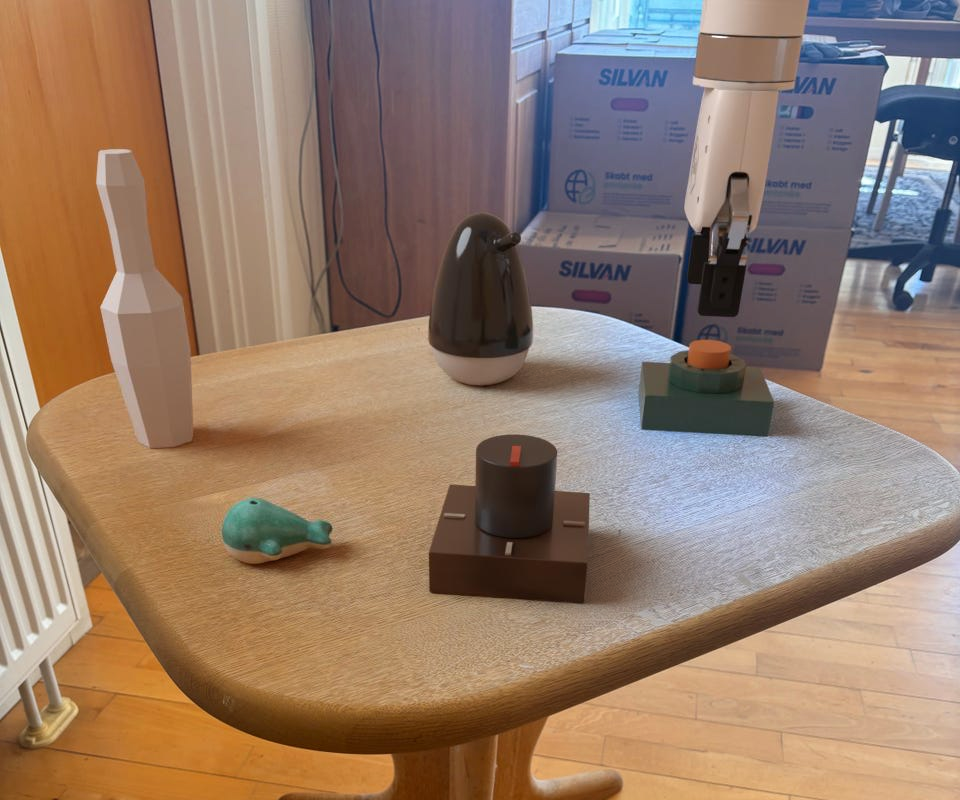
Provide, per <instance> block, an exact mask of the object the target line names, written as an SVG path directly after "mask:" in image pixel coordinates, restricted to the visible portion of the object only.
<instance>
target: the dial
mask: <svg viewBox="0 0 960 800" xmlns="http://www.w3.org/2000/svg"><path fill="white" fill-rule="evenodd" d="M557 465H558V450H557V447H556V446H555V445H554V444H553V443H552V442H550V441H549V440H546V439H544V438H541V437H538V436H535V435H528V434H502V435H501V434H500V435H495V436H491V437H488V438H486V439H483V440H482V441H481V442H479V443H478V444H477V445H476V448H475V480H474V481H475V482H474V483H475V484H474V486H475V521H476V523H477V525H478V526H479V527H480V528H481V529H482V530H484V531H485V532H487V533H490V534H492V535H496V536H500V537H506V538H526V537H532V536H536V535H539V534H541V533H544V532H545V531H547V530H548V529H549V528H550V527H551V525H552V523H553V512H554V497H555V491H556V483H557V482H556V480H557V467H558V466H557Z"/></svg>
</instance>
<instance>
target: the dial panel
mask: <svg viewBox="0 0 960 800" xmlns="http://www.w3.org/2000/svg"><path fill="white" fill-rule="evenodd" d="M590 499H591V493H590V492H583V491H582V492H579V491H564V490H563V491H561V490H555V497H554V512H553V523H552V525H551V527H550V528H549V529H548V530H547V531H545V532H544V533H541V534H539V535H536V536H532V537H526V538H506V537H500V536H496V535H492V534H490V533H487V532H485V531H484V530H482V529H481V528H480V527H479V526H478V525H477V523H476V521H475V485H466V484H449V486H448V488H447V491H446V495H445V499H444V501H443V504H442V507H441V511H440V514H439V518H438V521H437V525H436V528H435V531H434V534H433V537H432V541H431V543H430V547H429V551H428V590H429V593H436V594H447V595H448V594H449V595H461V596H462V595H464V596H478V597H491V598H506V599H518V600H519V599H520V600H532V601H533V600H534V601H547V602H560V603H561V602H563V603H578V604H584V603H585V598H586V597H585V596H586V588H587V587H586V586H587V575H588V566H589V533H590V506H591V505H590V504H591V503H590V501H591V500H590Z"/></svg>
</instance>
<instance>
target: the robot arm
mask: <svg viewBox="0 0 960 800" xmlns="http://www.w3.org/2000/svg"><path fill="white" fill-rule="evenodd" d="M809 4H810V0H702V4H701V13H700V22H699V30H698V32H699V33H698V36H697V43H696V44H697V45H696V52H695V59H694V68H693V77H692V85H693V86H696V87H697V86H698V87H701V88H704V89H703V94H702V97H701V101H700V102H701V104H700V107H699V111H698V118H697V123H696V130H695V136H694V141H693V147H692V148H693V149H692V154H691V161H690V167H689V173H688V174H689V175H688V180H687V186H686V192H685V199H684V206H683V207H684V213H685V216H686V218H687V221H688V223H689V225H690V228H692V230H693V231H694V234H692V238H691V245H690V253H689V258H688V259H689V260H688V266H687V273H686V282H687V283H689V284H690V285H700V290H699V296H698V302H697V313H698V315H699V316H701V317H717V318H718V317H719V318H736V317H737V316H738V315H739V313H740V307H741V301H742V294H743V288H744V283H745V276H746V271H747V258H748V244H749V243H748V242H749V234H750V233H752V232H753V231H754V230H756V228H757V225H758V221H759V219H760V218H759V217H760V214H761V213H760V212H761V210H762V209H761V208H762V204H763V198H764V193H765V187H766V181H767V175H768V169H769V163H770V158H771V157H770V156H771V149H772V145H773V136H774V131H775V130H774V129H775V125H776V117H777V108H778V101H779V92H780V91H791V90H793V89H795V84H796V79H797V73H798V68H799V62H800V56H801V51H802V45H803V40H804V37H803V36H804V33H805V28H806V21H807V18H808V17H807V16H808V10H809Z"/></svg>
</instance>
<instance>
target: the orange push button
mask: <svg viewBox="0 0 960 800" xmlns="http://www.w3.org/2000/svg"><path fill="white" fill-rule="evenodd" d="M688 350H689V353H688V360H687V364H689V365H691V366H694V367H698V368H702V369H723V368H728V364H729V358H730V354H731V351H732V347H731V345H730V344H728V343H727V342H724V341H720V340H716V339H715V340H714V339H698V340H693V341H692V342H690V343H689V346H688Z"/></svg>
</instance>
